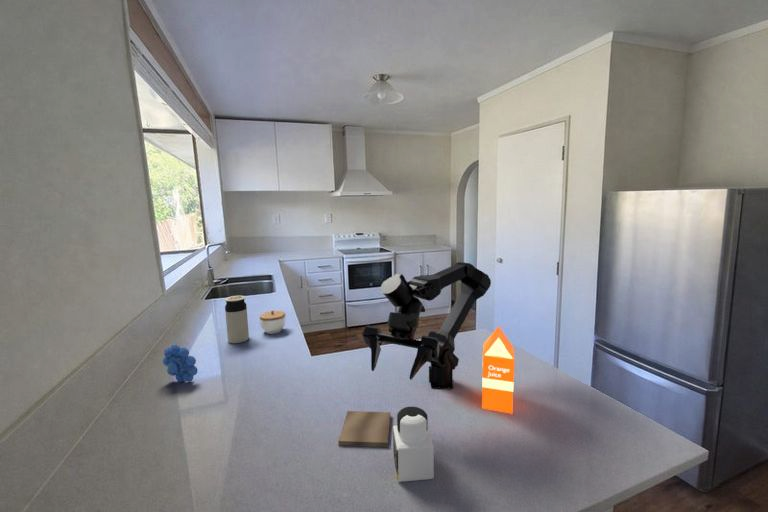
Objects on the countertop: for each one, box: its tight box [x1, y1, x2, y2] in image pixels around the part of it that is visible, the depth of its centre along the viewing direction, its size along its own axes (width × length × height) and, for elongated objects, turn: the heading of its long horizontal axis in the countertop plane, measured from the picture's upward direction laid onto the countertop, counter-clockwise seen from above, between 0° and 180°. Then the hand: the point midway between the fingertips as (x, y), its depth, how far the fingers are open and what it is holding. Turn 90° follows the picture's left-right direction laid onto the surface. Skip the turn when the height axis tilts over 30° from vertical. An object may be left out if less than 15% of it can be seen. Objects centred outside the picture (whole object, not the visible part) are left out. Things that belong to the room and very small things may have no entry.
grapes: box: [162, 344, 199, 383], centre depth 101 cm, size 12×7×12 cm, turn 79°
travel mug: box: [224, 295, 250, 344], centre depth 134 cm, size 8×8×18 cm
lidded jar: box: [259, 310, 286, 335], centre depth 144 cm, size 11×11×9 cm
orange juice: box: [481, 325, 515, 414], centre depth 87 cm, size 8×9×20 cm
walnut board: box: [338, 410, 391, 448], centre depth 78 cm, size 11×11×1 cm
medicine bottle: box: [392, 406, 435, 483], centre depth 66 cm, size 7×7×12 cm
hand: (391, 374), depth 75 cm, fingers open, 9 cm apart
